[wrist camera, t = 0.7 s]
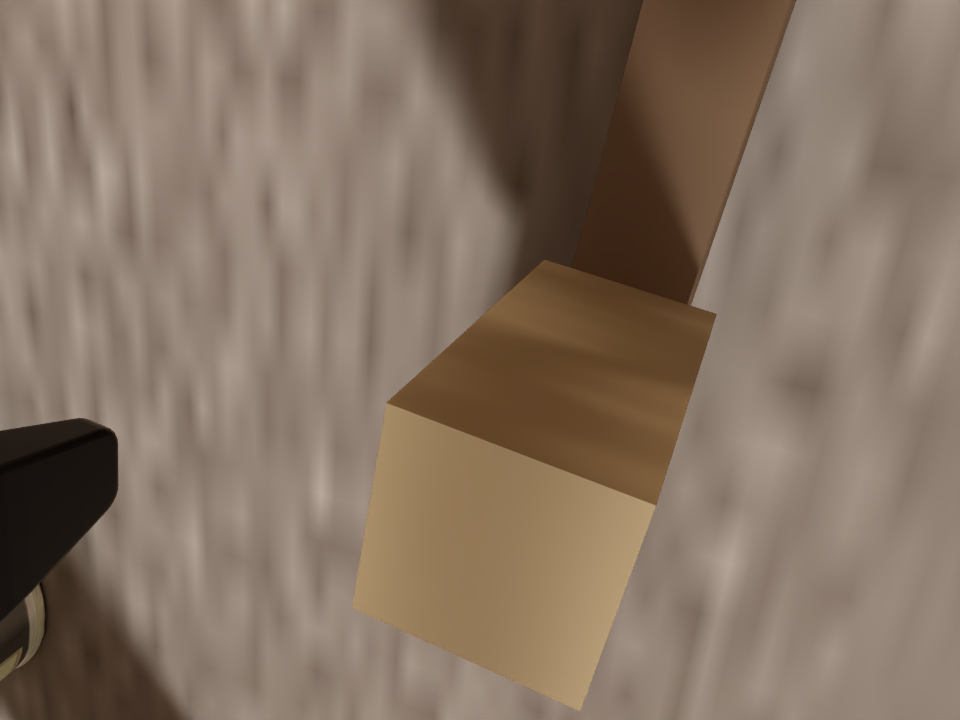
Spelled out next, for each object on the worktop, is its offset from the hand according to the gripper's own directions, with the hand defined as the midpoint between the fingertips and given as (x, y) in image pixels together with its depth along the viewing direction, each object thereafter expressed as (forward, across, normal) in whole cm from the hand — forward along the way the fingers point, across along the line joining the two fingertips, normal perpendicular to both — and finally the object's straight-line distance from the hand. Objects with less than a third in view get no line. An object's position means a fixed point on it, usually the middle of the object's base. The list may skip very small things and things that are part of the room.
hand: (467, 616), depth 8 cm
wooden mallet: (+10, 0, 0) cm, 10 cm away
